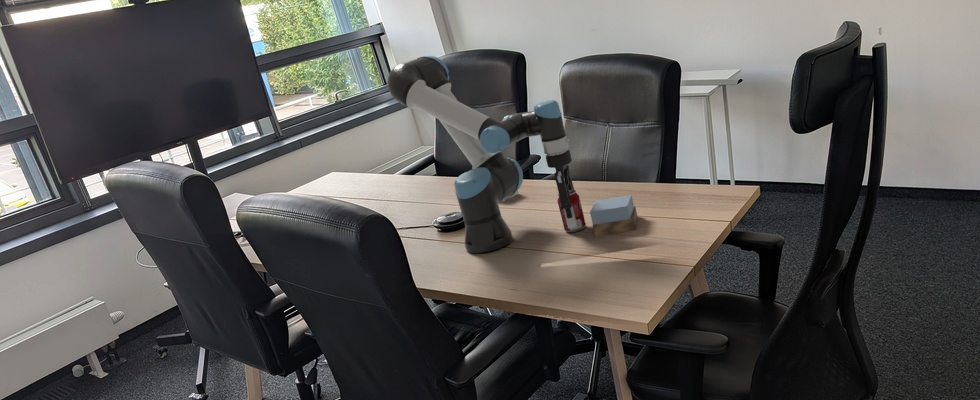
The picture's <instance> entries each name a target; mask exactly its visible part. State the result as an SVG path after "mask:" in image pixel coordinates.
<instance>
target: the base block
mask: <svg viewBox="0 0 980 400" xmlns="http://www.w3.org/2000/svg"><path fill="white" fill-rule="evenodd" d="M638 218H639V217H638V213H637V208H636V206H635V205H634V209H633V212H632V215H631V218H630V219H628V220H621V221H615V222H608V223H602V224H595V225H593V224H592V230H593V233H594V237H595V238H596V237H601V236H607V235H613V234H618V233H619V234H620V233H625V232H630V231H637V225H638V224H637V223H638Z"/></svg>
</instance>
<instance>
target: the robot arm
mask: <svg viewBox="0 0 980 400" xmlns="http://www.w3.org/2000/svg"><path fill="white" fill-rule="evenodd" d="M449 73H450V71H449V69H448V66H447V64H445V62H444V61H443V60H442V59H440V58H438V57H437V56H433V55H426V56H424V55H423V56H420V57H417V58H416V59H412V60H409V61H405V62H402V63H399V64H397V65H395V66H394V67H393V68H392V69H391V70H390V72H389V74H388V76H387V88H388V91H389V93H390V95H391V96H392V97H393V98H394V99H395V101H396V102H398V103H400V104H401V105H402V106H405V107H406V108H409V109H410V110H411V109H412V110H414V109H417V110H419V111H421V112H423V113H425V114H428V115H429V116H431V117H433V118H435V119H437V120H439V122H440V123H441V125H442V126H443V127H444V129H445V130H446V131H447V133H448V135H449V136H450V137H451V138H452V139H453V141H454V142H455V144H456V145H457V146H458V148H459V149H460V150H461V152H462V153H463V155H464V156H465V157H466V159H467V160H468V161H469V163H470V164H471V166H472V167H471V169H470V170H468V171H464V173H463V172H462V174H460V175H458V177H457V178H455V180H454V182H453V183H454V185H453V186H454V190H455V195H456V198H457V199H456V200H457V201H458V205H459V209H460V212H461V215H462V219H463V222H464V227H465V229H464V231H465V232H464V233H465V234H464V246H465V250H466V252H467V253H469V254H480V253H482V254H483V253H487V252H492V251H495V250H498V249H500V248H502V247H505V246H507V245H508V244H510V243H512V241H513V239H514V236H513V234H512V230H511V229H510V227H509V226H508V224H507V223H506V221H505V219H504V218H503V216H502V214H501V211H500V210H501V209H500V205H499V204H500V203H501V202H504V201H503V200H504V199H506V198H507V197H509V196H512V195H513V194H514V193H515V192H516V191H517V190H518V191H519V189H520V188H521V186H522V184H523V178H524V174H523V170H522V167H521V165H520V164H519V163H518V161H517V160H515V159H513V158H510V157H506V156H505V155H504V154H503V152H502V151H503V150H506V149H507V148H509V147H510V146H512V145H513V144H516V143H517V142H519V141H521V140H523V139H525V138H528V137H534V136H536V137H537V136H540V139H541V144H542V148H543V153H544V154H545V160H546V163H547V164H546V165H547V167H548V168H551V169H552V168H554V169H555V172H554V181H555V183H556V187H557V191H558V194H559V196H558V198H559V197H560V202H561V207H560V208H561V209H564V213H565V217H566V221H567V225H568V228H573V227H577V223H576V219H575V215H574V210H573V206H572V205H571V200H570V195H569V190H575V188H574V183H573V180H572V176H571V170H570V166H569V164H571V163H572V161H573V159H572V158H573V157H572V154H571V151H570V150H569V148H570V147H569V143H568V142H570V139H569V138H567V134H566V131H565V125H564V119H563V117H562V116H563V113H562V112H561V109H560V105H559V103H558V100H555V99H554V100H553V99H552V100H546V101H541V102H538V103H536V104H535V105H534V106H533V110H531V111H525V112H519V113H518V112H517V113H516V112H514V113H512V114H508V115H507V114H506V115H505V116H504V117H503V118H502V120H501V121H499V120H497V119H494V118H492V117H491V116H488V115H486V114H484V113H482V112H479V110H477V109H475V108H472V107H470V106H468V105H466V104H464V103H462V102H460V101H458V99H457V97H456V96H455V94H453V93H452V91H451V89H452V82H450V81H449V80H450V75H449Z"/></svg>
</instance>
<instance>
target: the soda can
mask: <svg viewBox="0 0 980 400" xmlns="http://www.w3.org/2000/svg"><path fill="white" fill-rule="evenodd" d="M569 195H570V200H571V205H572V206H573V210H574V215H575V219H576V223H577V227H573V228H568V225H567V221H566V217H565V213H564V209H561V208H560V207H561V202H560V197H559V193H558V198H557V205H558V209H559V213H560V217H561V222H562V225H563V226H562V227H563V230H564V231H565V232H568V233H576V232H580V231H582V230H583V229H584V228H585V227H586V224H587V223H586V220H585V215H584V211H583V208H582V202H581V199H580V195H579V194H578V193H577V191H576V190H575V189H574V190H569Z"/></svg>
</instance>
